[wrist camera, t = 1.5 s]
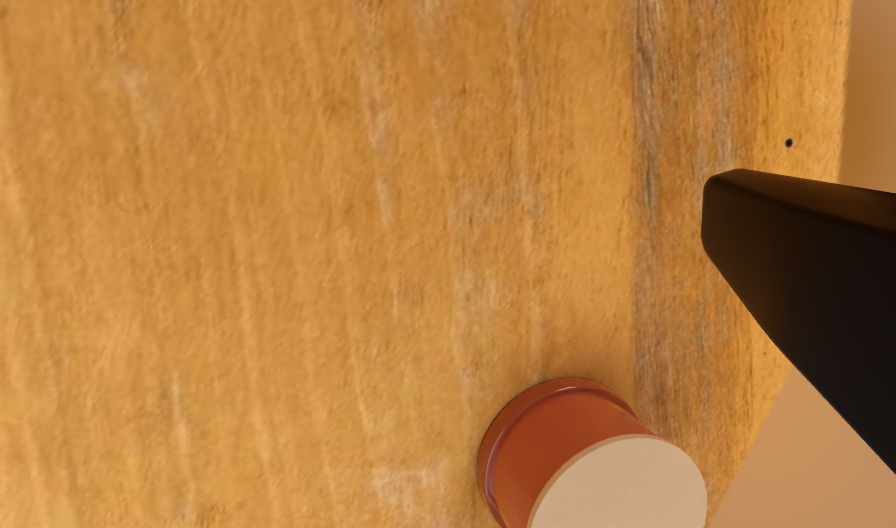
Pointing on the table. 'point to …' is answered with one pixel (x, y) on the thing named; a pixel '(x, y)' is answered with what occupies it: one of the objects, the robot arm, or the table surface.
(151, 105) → the table surface
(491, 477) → the upturned cup
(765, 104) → the table surface
